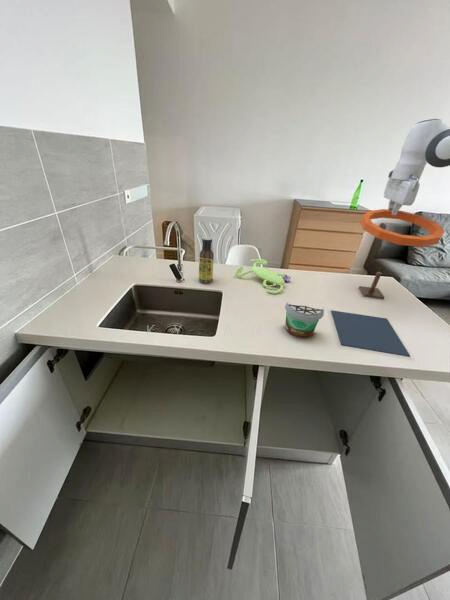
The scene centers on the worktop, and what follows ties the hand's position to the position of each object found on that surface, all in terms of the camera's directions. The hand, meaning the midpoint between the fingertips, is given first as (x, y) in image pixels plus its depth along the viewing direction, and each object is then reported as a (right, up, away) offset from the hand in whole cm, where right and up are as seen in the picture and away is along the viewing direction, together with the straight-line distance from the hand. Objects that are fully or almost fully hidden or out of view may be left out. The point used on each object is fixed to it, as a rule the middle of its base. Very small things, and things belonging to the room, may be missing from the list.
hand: (391, 213), depth 96 cm
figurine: (-48, -24, +19) cm, 57 cm away
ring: (-3, -8, -7) cm, 11 cm away
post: (-1, -31, +12) cm, 34 cm away
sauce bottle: (-75, -26, +14) cm, 80 cm away
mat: (-17, -45, -12) cm, 50 cm away
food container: (-41, -46, -15) cm, 63 cm away
